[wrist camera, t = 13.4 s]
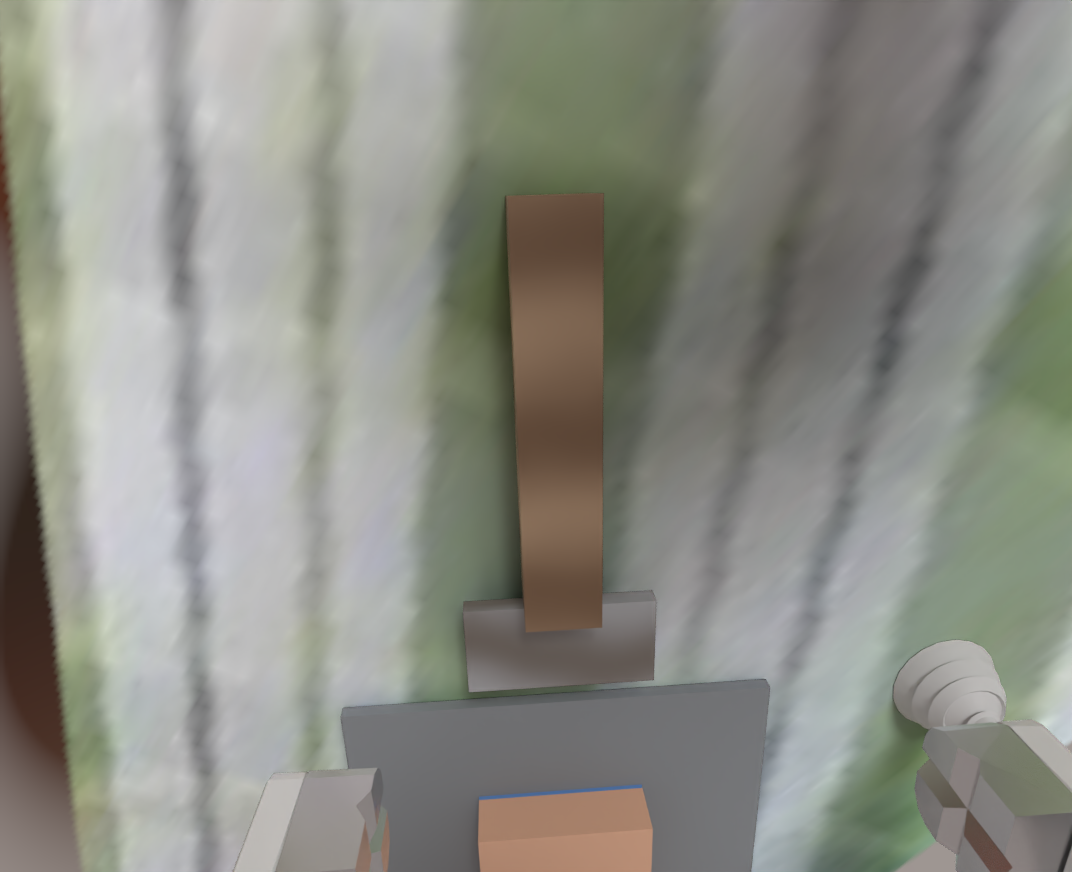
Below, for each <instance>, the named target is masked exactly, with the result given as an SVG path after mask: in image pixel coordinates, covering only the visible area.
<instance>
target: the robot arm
mask: <svg viewBox="0 0 1072 872" xmlns="http://www.w3.org/2000/svg"><path fill="white" fill-rule="evenodd" d="M922 748H923V750H924V751H925V752H926V754H927V755H928V757H929V758H930V759H929V760H928V761H927V762H926V763H925V764H924V765H923V766H922V767H921V768H920V769H919V770H918V771H917V776H916V783H915V794H916V799H917V804H918V809H919V811H920V814H921V816H922V818H923V820H924V823H925V825H926V826H927V828H928V829H929V831H930V832H931V834H932V835H933V837H934V839H935V840H936V841H937V842H939V843H940V844H942V845H943V846H945V847H946V848H948V849H949V850H951V851H952V852H954V853H955V854H956V871H957V872H1072V753H1071V752H1070V751H1069V750H1068V749H1067V748H1066V747H1065V746H1064V745H1063V744H1062V743H1061V742H1060V741H1059V740H1058V739H1057V738H1056V737H1055V736H1054V735H1053V734H1052V733H1051V732H1050V731H1049V730H1048V729H1047V728H1046V727H1045V726H1043V725H1042V724H1040V723H1038V722H1036V721H1034V720H1032V719H1027V720H1015V721H1003V722H997V723H993V722H990V723H978V724H966V725H954V726H942V727H932V728H931V729H930V730H929V731H928V732H927V733H926V734H925V738H924V742H923V747H922ZM383 789H384V785H383V780H382V774H381V770H380V769H379V768H362V769H340V770H318V771H309V772H290V773H274V774H273V775H272V777H271V778H270V779H269V780H268V782H267V783H266V785H265V788H264V791H263V793H262V796H261V798H260V801H259V804H258V806H257V809H256V812H255V814H254V817H253V820H252V822H251V825H250V827H249V830H248V833H247V835H246V838H245V841H244V843H243V846H242V849H241V851H240V854H239V856H238V859H237V862H236V864H235V867H234V870H233V872H387V870H388V861H389V843H390V838H389V821H388V813H387V810H386V809H385V808H384V807H382V806H381V801H382V795H383Z"/></svg>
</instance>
